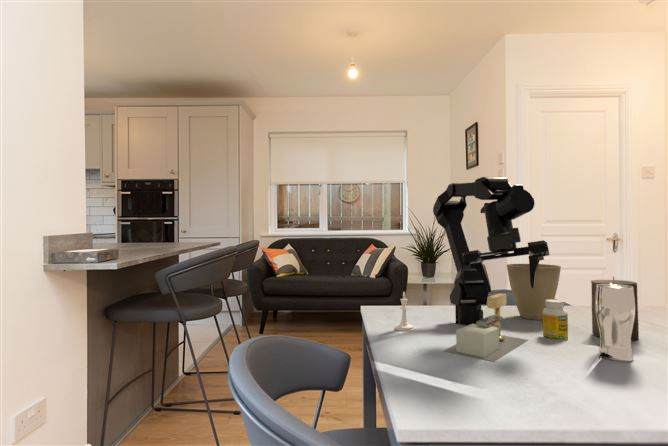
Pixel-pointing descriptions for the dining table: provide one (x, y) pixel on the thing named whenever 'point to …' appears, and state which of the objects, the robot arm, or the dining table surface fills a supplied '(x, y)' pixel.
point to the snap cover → (477, 340)
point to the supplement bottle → (555, 320)
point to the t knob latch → (495, 303)
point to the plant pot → (533, 298)
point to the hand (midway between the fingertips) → (510, 290)
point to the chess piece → (404, 317)
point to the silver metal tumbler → (615, 320)
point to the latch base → (504, 348)
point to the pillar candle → (594, 319)
